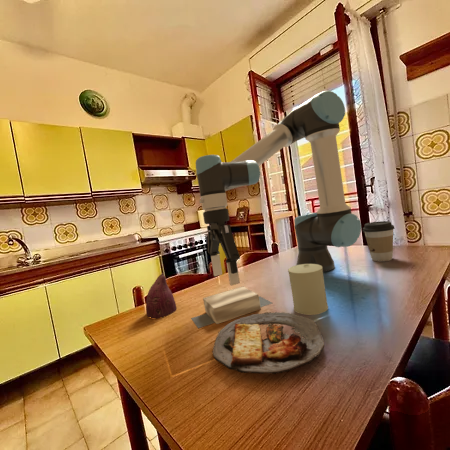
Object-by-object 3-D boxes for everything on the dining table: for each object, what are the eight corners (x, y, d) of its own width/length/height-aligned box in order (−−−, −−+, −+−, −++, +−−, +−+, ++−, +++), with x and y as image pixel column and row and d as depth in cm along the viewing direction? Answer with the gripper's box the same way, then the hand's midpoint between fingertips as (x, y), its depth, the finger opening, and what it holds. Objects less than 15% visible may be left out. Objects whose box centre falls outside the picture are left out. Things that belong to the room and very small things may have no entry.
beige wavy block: (205, 311, 81) (203, 298, 81) (245, 299, 86) (243, 286, 86) (216, 324, 71) (213, 308, 71) (260, 309, 76) (258, 294, 76)
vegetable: (181, 315, 91) (186, 272, 90) (165, 325, 81) (170, 278, 80) (156, 308, 94) (161, 267, 94) (137, 317, 84) (142, 272, 84)
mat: (191, 319, 78) (191, 318, 78) (260, 297, 87) (260, 296, 86) (198, 329, 70) (198, 328, 70) (273, 304, 79) (272, 303, 79)
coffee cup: (360, 258, 112) (356, 224, 111) (386, 254, 112) (382, 220, 111) (376, 264, 100) (371, 226, 99) (405, 259, 100) (400, 221, 99)
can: (329, 301, 74) (323, 261, 73) (327, 316, 66) (321, 270, 65) (296, 301, 78) (290, 262, 77) (291, 315, 70) (284, 272, 69)
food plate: (337, 379, 43) (334, 359, 43) (204, 387, 47) (201, 368, 47) (311, 317, 68) (309, 304, 68) (225, 325, 72) (223, 313, 72)
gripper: (192, 212, 87) (202, 274, 88) (217, 208, 63) (230, 292, 65) (213, 209, 89) (222, 269, 91) (244, 204, 66) (256, 285, 67)
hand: (225, 279), depth 78 cm, fingers open, 13 cm apart
